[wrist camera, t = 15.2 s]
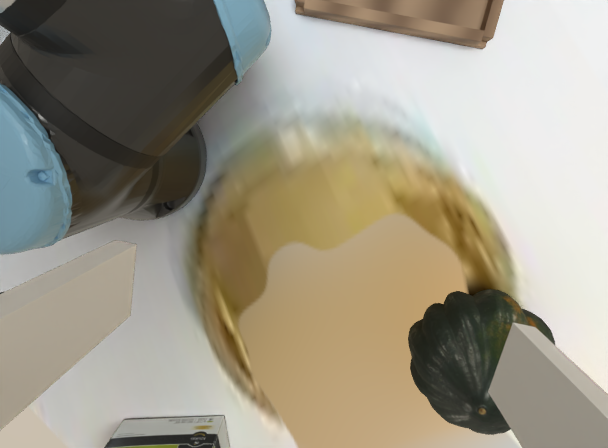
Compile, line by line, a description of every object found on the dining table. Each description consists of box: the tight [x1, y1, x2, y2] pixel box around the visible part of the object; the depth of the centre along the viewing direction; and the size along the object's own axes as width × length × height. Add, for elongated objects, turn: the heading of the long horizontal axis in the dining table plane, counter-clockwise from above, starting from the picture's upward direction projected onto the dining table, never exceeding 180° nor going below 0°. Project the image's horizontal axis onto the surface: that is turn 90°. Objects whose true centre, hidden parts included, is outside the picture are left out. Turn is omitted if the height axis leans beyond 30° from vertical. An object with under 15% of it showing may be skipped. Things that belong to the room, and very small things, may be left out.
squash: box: [408, 289, 555, 434], centre depth 41 cm, size 14×15×15 cm
